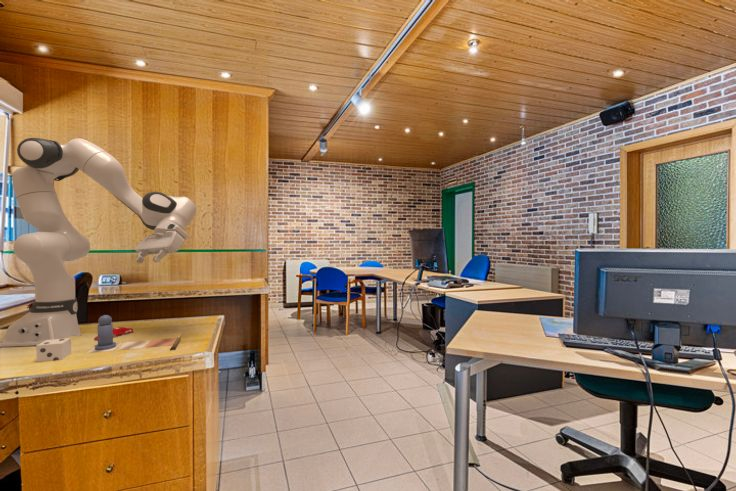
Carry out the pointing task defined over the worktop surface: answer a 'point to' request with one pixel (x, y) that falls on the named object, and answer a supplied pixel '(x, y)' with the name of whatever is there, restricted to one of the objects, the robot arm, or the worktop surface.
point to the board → (142, 345)
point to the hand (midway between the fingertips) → (146, 261)
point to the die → (53, 349)
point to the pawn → (105, 333)
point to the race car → (119, 332)
